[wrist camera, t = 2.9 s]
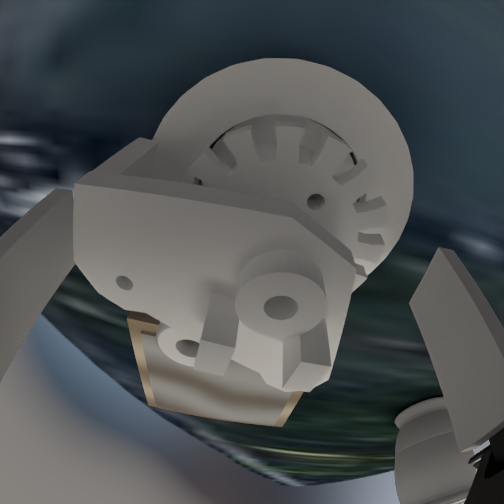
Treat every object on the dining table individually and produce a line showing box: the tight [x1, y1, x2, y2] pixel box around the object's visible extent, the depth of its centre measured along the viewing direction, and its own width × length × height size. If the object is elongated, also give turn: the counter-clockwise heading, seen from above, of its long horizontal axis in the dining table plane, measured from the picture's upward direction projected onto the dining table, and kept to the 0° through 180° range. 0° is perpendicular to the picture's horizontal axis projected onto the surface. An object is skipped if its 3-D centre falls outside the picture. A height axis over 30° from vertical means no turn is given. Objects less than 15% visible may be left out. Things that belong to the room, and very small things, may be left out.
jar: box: [395, 397, 476, 504], centre depth 27 cm, size 11×10×15 cm
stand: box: [127, 311, 304, 427], centre depth 25 cm, size 14×14×3 cm
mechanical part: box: [73, 58, 413, 392], centre depth 12 cm, size 11×12×12 cm
